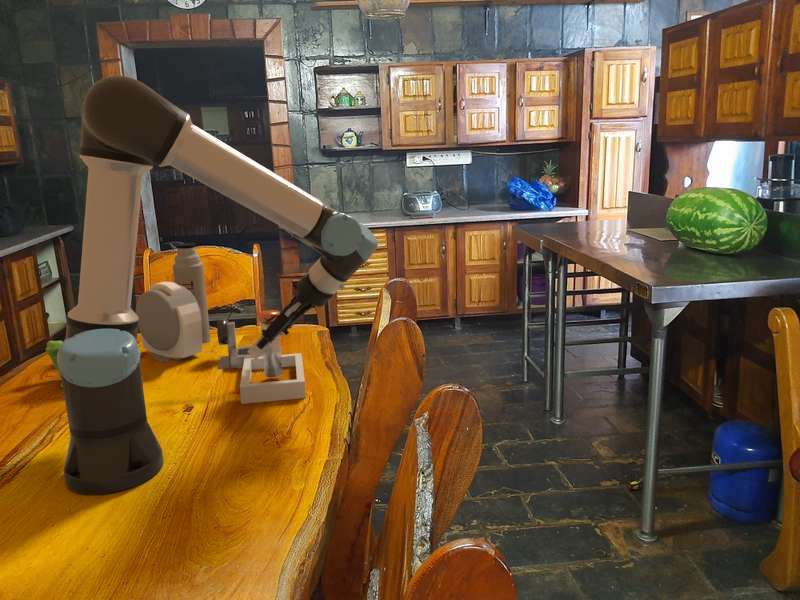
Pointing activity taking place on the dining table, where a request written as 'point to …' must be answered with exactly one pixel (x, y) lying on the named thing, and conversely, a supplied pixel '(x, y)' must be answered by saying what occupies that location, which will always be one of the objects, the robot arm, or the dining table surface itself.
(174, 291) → the beige rounded housing
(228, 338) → the block
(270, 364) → the pin
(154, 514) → the dining table surface
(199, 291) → the thermos bottle
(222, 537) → the dining table surface
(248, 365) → the tray
